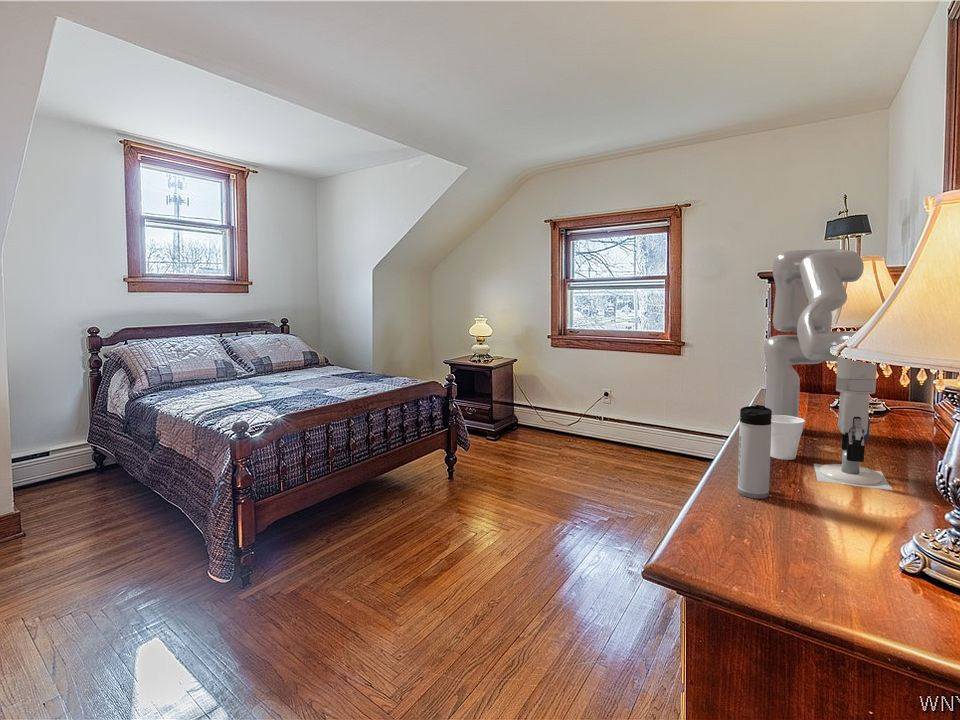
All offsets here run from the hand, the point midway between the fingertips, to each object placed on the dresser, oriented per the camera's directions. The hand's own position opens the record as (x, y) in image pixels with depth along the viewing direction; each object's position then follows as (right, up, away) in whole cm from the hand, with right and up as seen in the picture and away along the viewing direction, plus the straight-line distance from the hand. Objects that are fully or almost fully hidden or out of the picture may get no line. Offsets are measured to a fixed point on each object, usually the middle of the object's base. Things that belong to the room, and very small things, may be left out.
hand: (852, 455), depth 120 cm
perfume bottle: (+28, -1, +37) cm, 46 cm away
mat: (0, -6, +1) cm, 6 cm away
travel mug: (-28, -8, -7) cm, 29 cm away
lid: (0, -5, +1) cm, 5 cm away
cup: (-6, -4, +18) cm, 19 cm away
